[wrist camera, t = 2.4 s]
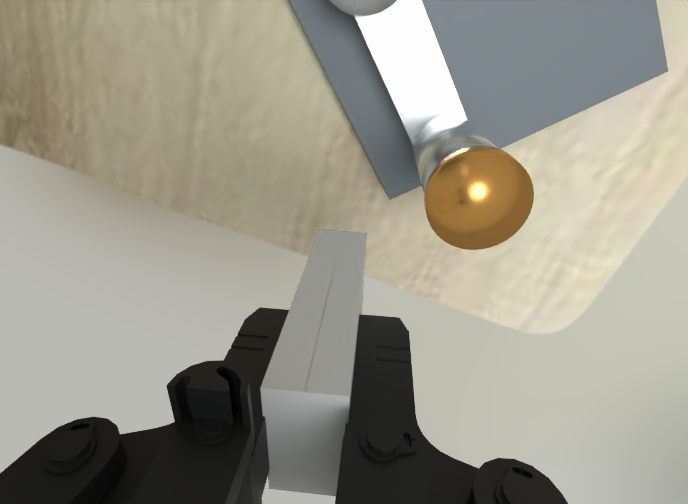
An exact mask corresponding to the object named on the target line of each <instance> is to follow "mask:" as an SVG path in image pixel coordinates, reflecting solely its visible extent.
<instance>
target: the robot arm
mask: <svg viewBox="0 0 688 504" xmlns="http://www.w3.org/2000/svg"><path fill="white" fill-rule="evenodd" d="M366 238H367V233H360V232H345V231H330V230H319V232H318V234H317V237H316V240H315V242H314V245H313V248H312V250H311V253H310V256H309V258H308V261H307V264H306V267H305V269H304V272H303V275H302V277H301V280H300V283H299V285H298V289H297V291H296V293H295V296H294V299H293V302H292V304H291V307H290V310H283V309H270V308H259V309H257V310H256V311H255V312H254V313H253V314H251V315H250V316H249V317H248V318H246V319H245V321H244V323H243V325H242V327H241V329H240V331H239V332H238V336H237V337H236V338H235V340H234V342H233V344H232V346H231V349H229V351H228V353H227V355H226V357H225V359H224V361H206V362H202V363H200V364H196V365H193V366H190V367H188V368H187V369H185V370H183V371H182V372H180V373H178V374H177V375H176V376H175V377H174V378H173V379H172V380H171V381H170V382H169V383H168V385H167V389H168V394H169V398H170V402H171V407H172V411H173V415H174V419H175V422H174V423H171V424H169V425H166V426H162V427H159V428H154V429H149V430H143V431H138V432H132V433H126V434H121V435H120V434H119V431H118V428H117V425H115V424H114V423H112V422H111V421H110V420H109V419H105V418H98V417H90V418H83V419H77V420H74V421H72V422H70V423H67V424H65V425H63V426H60V427H58V428H56V429H55V430H54V431H52V432H51V433H49V434H48V435H46V436H45V437H43V438H42V439H41V440H39V441H38V442H37V443H36V444H35V445H33V446H32V447H31V448H30V449H29V450H28V451H26V452H25V453H24V454H23V455H22V456H20V457H19V458H18V459H17V460H16V461H15V462H13V463H12V464H11V465H10V466H9V467H8V468H6V469H5V470H4V471H3V472H1V473H0V504H262V499H261V497H262V494H263V490H264V487H265V483H266V480H267V476H268V480H269V488H270V489H278V490H287V491H295V492H305V493H313V494H322V495H330V496H336V501H335V504H568V503H567V501H566V500H565V498H564V497H563V495H562V494H561V492H560V491H559V490H558V489H557V488H556V487H555V485H554V484H553V483H552V482H551V480H550V479H549V478H548V477H546V476H545V475H544V474H542V473H541V472H539V471H538V470H536V469H535V468H534V467H533V466H530V465H528V464H525V463H523V462H520V461H518V460H515V459H503V458H497V459H494V460H491V461H488V462H485V463H484V464H483V465H482V466H481V467H480V468H479V469H478V468H476V467H473V466H471V465H468V464H466V463H464V462H461V461H459V460H456V459H454V458H452V457H450V456H448V455H446V454H444V453H442V452H440V451H439V450H438V449H436V448H435V447H434V446H433V445H432V444H430V443H429V441H428V440H427V439H426V438H425V437H424V435H423V434H422V432H421V430H420V428H419V426H418V424H417V419H416V415H415V402H414V390H413V378H412V365H411V353H410V340H409V331H408V330H407V329H406V327H405V326H404V324H403V323H402V321H401V320H400V318H396V317H384V316H372V315H371V316H370V315H361V313H362V300H363V284H364V269H365V254H366Z"/></svg>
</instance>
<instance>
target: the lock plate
mask: <svg viewBox="0 0 688 504" xmlns="http://www.w3.org/2000/svg"><path fill="white" fill-rule="evenodd" d="M289 1H290V3H291V5H292V7H293V9H294V11H295V13H296V15H297V17H298V19H299V21H300V23H301V25H302V27H303V29H304V31H305V33H306V35H307V37H308V39H309V41H310V43H311V45H312V47H313V49H314V51H315V53H316V55H317V56H318V58H319V60H320V62H321V64H322V66H323V68H324V70H325V72H326V74H327V76H328V78H329V80H330V82H331V84H332V86H333V88H334V90H335V92H336V94H337V96H338V98H339V100H340V102H341V104H342V106H343V108H344V110H345V112H346V114H347V116H348V118H349V120H350V122H351V124H352V126H353V128H354V130H355V132H356V134H357V136H358V138H359V140H360V142H361V144H362V146H363V148H364V150H365V152H366V154H367V156H368V158H369V160H370V162H371V164H372V165H373V167H374V169H375V171H376V173H377V175H378V177H379V179H380V181H381V183H382V185H383V187H384V189H385V191H386V193H387V195H388V197H389V199H392V198H395V197H397V196H399V195H401V194H403V193H405V192H408V191H410V190H412V189H414V188H416V187H418V186H421V185H422V183H421V180H420V176H419V172H418V169H417V165H416V161H415V157H414V154H413V150H412V145H411V140H410V138H409V136H408V133H407V131H406V129H405V127H404V124H403V122H402V120H401V118H400V116H399V113H398V111H397V109H396V107H395V105H394V102H393V100H392V98H391V96H390V93H389V91H388V89H387V87H386V85H385V82H384V80H383V78H382V76H381V74H380V71H379V69H378V67H377V65H376V62H375V60H374V58H373V56H372V54H371V51H370V49H369V47H368V45H367V43H366V40H365V38H364V36H363V34H362V31H361V29H360V27H359V25H358V23H357V20H356V18H355V17H353V16H351V15H348V14H346V13H345V12H343V11H342V10H340V9H339V8H338V7H337V6H335V5H334V4H333V3H332V2H330V1H329V0H289ZM421 1H422V4H423V6H424V9H425V11H426V14H427V17H428V19H429V22H430V24H431V27H432V30H433V32H434V35H435V37H436V40H437V43H438V45H439V48H440V50H441V53H442V56H443V58H444V61H445V63H446V66H447V69H448V71H449V74H450V76H451V79H452V82H453V84H454V87H455V89H456V92H457V95H458V97H459V100H460V102H461V105H462V108H463V110H464V113H465V115H466V118H467V120H468V121H469V122H470V123H471V124H472V125H473V126H474V127H475V128H476V129H477V130H478V131H480V132H481V133H482V134H483V135H484V136H485V137H486V138H487V139H488V140H489V141H491V142H492V143H493V144H494V145H495V146H496V147H497V148H498V149H501V148H503V147H505V146H507V145H509V144H512V143H514V142H516V141H518V140H520V139H522V138H525V137H527V136H529V135H531V134H533V133H535V132H538V131H540V130H542V129H544V128H546V127H548V126H551V125H553V124H555V123H557V122H559V121H561V120H564V119H566V118H568V117H570V116H572V115H574V114H577V113H579V112H581V111H583V110H585V109H587V108H590V107H592V106H594V105H596V104H598V103H600V102H603V101H605V100H607V99H609V98H611V97H613V96H616V95H618V94H620V93H622V92H624V91H626V90H629V89H631V88H633V87H635V86H637V85H639V84H642V83H644V82H646V81H648V80H650V79H652V78H655V77H657V76H659V75H661V74H663V73H665V72H668V68H667V62H666V56H665V50H664V44H663V39H662V33H661V27H660V21H659V15H658V9H657V4H656V0H421Z"/></svg>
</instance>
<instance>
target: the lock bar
mask: <svg viewBox="0 0 688 504" xmlns="http://www.w3.org/2000/svg"><path fill="white" fill-rule="evenodd" d="M329 1H330V2H332V3H333V4H334V5H335V6H337V7H338V8H339V9H340V10H342V11H343V12H345V13H346V14H348V15H351V16H353V17H355V18H356V20H357V23H358V25H359V27H360V29H361V31H362V34H363V36H364V38H365V40H366V43H367V45H368V47H369V49H370V51H371V54H372V56H373V58H374V60H375V62H376V65H377V67H378V69H379V71H380V74H381V76H382V78H383V80H384V82H385V85H386V87H387V89H388V91H389V93H390V96H391V98H392V100H393V102H394V105H395V107H396V109H397V111H398V113H399V116H400V118H401V120H402V122H403V124H404V127H405V129H406V131H407V133H408V136H409V138H410V140H411V145H412V150H413V154H414V157H415V161H416V165H417V169H418V172H419V176H420V180H421V183H422V187H423V191H424V205H425V209H426V213H427V217H428V221H429V223H430V225H431V227H432V229H433V230H434V232H435V233H436V234H437V235H438V236H439V237H440V238H441V239H442V240H444V241H445V242H447V243H449V244H450V245H453V246H455V247H458V248H462V249H469V250H477V249H485V248H489V247H492V246H495V245H498V244H500V243H502V242H504V241H505V240H507V239H509V238H510V237H511V236H513V235H514V234H515V233H516V232H517V231H518V230H519V229H520V228H521V227H522V226H523V224H524V223H525V221H526V220H527V218H528V216H529V214H530V211H531V208H532V204H533V197H534V192H533V185H532V181H531V179H530V176H529V174H528V173H527V171H526V170H525V169H524V167H523V166H522V165H521V164H520V163H519V162H517V161H516V160H515V159H514V158H513V157H512V156H510V155H509V154H508V153H506V152H504V151H503V150H500V149H498V148H497V147H496V146H495V145H494V144H493V143H492V142H491V141H489V140H488V139H487V138H486V137H485V136H484V135H483V134H482V133H481V132H480V131H478V130H477V129H476V128H475V127H474V126H473V125H472V124H471V123H470V122H469V121H468V120H467V118H466V115H465V113H464V110H463V108H462V105H461V102H460V100H459V97H458V95H457V92H456V89H455V87H454V84H453V82H452V79H451V76H450V74H449V71H448V69H447V66H446V63H445V61H444V58H443V56H442V53H441V50H440V48H439V45H438V43H437V40H436V37H435V35H434V32H433V30H432V27H431V24H430V22H429V19H428V17H427V14H426V11H425V9H424V6H423V4H422V1H421V0H329Z"/></svg>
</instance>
